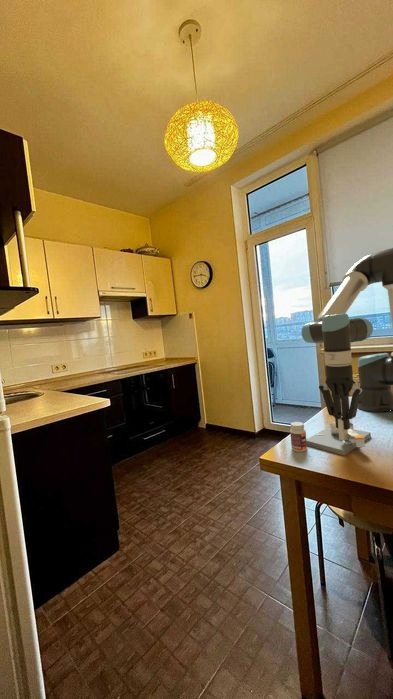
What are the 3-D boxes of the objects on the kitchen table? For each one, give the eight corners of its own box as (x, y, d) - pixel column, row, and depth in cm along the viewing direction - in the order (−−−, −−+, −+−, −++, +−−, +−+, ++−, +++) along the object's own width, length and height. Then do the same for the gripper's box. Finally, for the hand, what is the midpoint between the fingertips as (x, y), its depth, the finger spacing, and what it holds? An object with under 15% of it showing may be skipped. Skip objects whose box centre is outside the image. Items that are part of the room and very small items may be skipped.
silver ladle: (327, 430, 102) (326, 419, 102) (347, 428, 101) (347, 417, 101) (348, 449, 86) (347, 436, 85) (373, 447, 85) (372, 434, 85)
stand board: (332, 429, 107) (332, 424, 107) (372, 437, 96) (372, 432, 96) (305, 444, 96) (304, 439, 96) (346, 455, 85) (345, 450, 85)
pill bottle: (305, 453, 90) (303, 426, 90) (290, 451, 93) (287, 425, 92) (308, 447, 94) (306, 421, 94) (293, 445, 97) (291, 420, 96)
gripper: (312, 365, 92) (317, 437, 93) (354, 367, 82) (359, 448, 83) (324, 362, 96) (330, 430, 98) (366, 363, 86) (371, 440, 87)
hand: (343, 438), depth 90 cm, fingers closed
